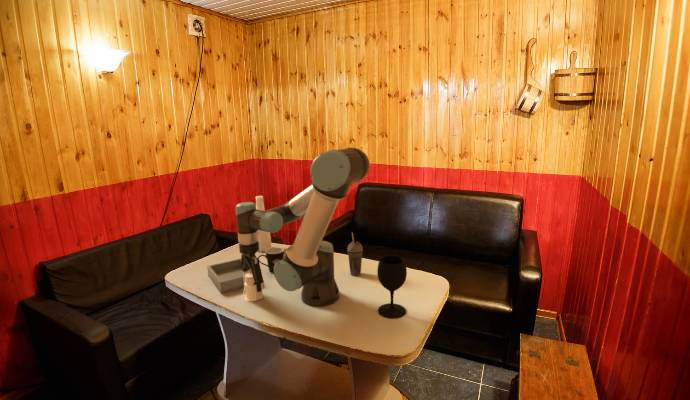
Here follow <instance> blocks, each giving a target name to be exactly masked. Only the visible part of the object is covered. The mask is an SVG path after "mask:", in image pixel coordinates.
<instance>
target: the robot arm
mask: <svg viewBox="0 0 690 400" xmlns="http://www.w3.org/2000/svg"><path fill="white" fill-rule="evenodd" d="M369 159H370V158H369V157H368V155H367V154H366V153H365V152H364V151H363V150H361V149H359V148H357V147H346V148H340V149H328V150H327V151H324V152H321V153H319V154H318V155H317V156H316V157H315V158H314V159H313V161H312V163H311V165H310V172H309V173H310V176H311V179H310V180H311V184H310V185H309V186H308V187H306V188H305V189H304V190H302V191H301V192H299V193H298V194H297V195H296V196H294V197H292V198H291V199H290V200H289V201H287V202H286V203H285V204H282V205H279V206H276V207H273V208H269V209H266V210H265V211H263V210H257V209H256V202H251V201H246V202H240V203H238V204H236V205H235V216H236V217H235V219H236V226H237V229H236V230H237V239H238V240H237V241H238V248H239V249H238V250H239V254H241V256H240V258H241V269H242V271H243V280H244V283H245V282H246V280H245V275H246V274H247V273H250V271H248V270H250V269H251V272H252V275H253V278H254V282H255V283H254V284H253V285H254V289H255V299H256V301H259V300H261V299H263V298H264V295H262V294H263V288H262V286H263V284H264V283H265V281H264V277H263V273H262V269H261V263H260V262H259V261H260V258H258V257H257V255H256V254H257V253H258V251H259V242H258V234H259V232H258V230H261V231H265V232H270V233H278V232H279V231H280V230H281V229H282V228H283V226H285V225H287V224H290V223H294V222H296V221H299V220H300V219H301V218H302V217H303V218H302V221H301V224H300V226H299V229H298V232H297V234H296V237H295V240H294V241H293V244H290V245H289V246H287V248H286V251H285V252H284V258H283V259H282V260H280V261H278V262H277V263H276V264H275V266H274V273H273V275H274V278H275V281H276V282H277V284H278V285H279V286H280V287H281V288H282V289H283V290H285V291H288V292H295V291H298V290H300V289H301V288H302V289H301V292H300V293H301V294H300V295H301V297H300V298H301V301H302V303H304V304H306V305H308V306H312V307H325V306H329V305H332V304H334V303H336V302H337V301H338V300H339V299H340V290H339V287H338V284H337V282H336V279H335V262H334V261H335V258H334V256H335V255H334V254H335V251H334V246H333V245H334V244H332V243H331V242H329V241H326V240H323V238H324V237H325V235H326V232H327V229H328V227H329V225H330V222H331V220H332V219H333V215H334V213H335V211H336V208H337V206H338V204H339V202H340V201H341V200H344V199H345V198H346V197H347V196H348V195H347V194H348V193H349V190H350V187H351V186H353V185H355V184H356V183H359V182H361V181H363V180H364V179H365V178H366V177H367V176H368V173H369V172H370V167H371V166H370V160H369ZM303 215H304V216H303ZM244 286H245V285H244ZM258 299H259V300H258Z"/></svg>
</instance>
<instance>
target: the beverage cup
mask: <svg viewBox="0 0 690 400" xmlns="http://www.w3.org/2000/svg"><path fill="white" fill-rule="evenodd" d="M351 238H352V241H351V242H350V243H349V244H348V246H347V250H346V252H347V255H348V263H349V273H350V275H351V276H352V277H360V276H361V272H362V258H363V252H364V249H363V245H362V243H360V242H359V241H355V239H354V238H355V237H354V233H353V232H351Z"/></svg>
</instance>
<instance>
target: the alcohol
mask: <svg viewBox="0 0 690 400" xmlns="http://www.w3.org/2000/svg"><path fill="white" fill-rule="evenodd" d="M255 205H256V209H257V210H263V211H265V204H264V196H263V195H256V196H255ZM258 232H259V234H258V242H259V251H258V252H260V253H266V252H265V251H266V250H267V249H270V248H272V237H271V232H265V231H261V230H258ZM258 252H257V253H258Z"/></svg>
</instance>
